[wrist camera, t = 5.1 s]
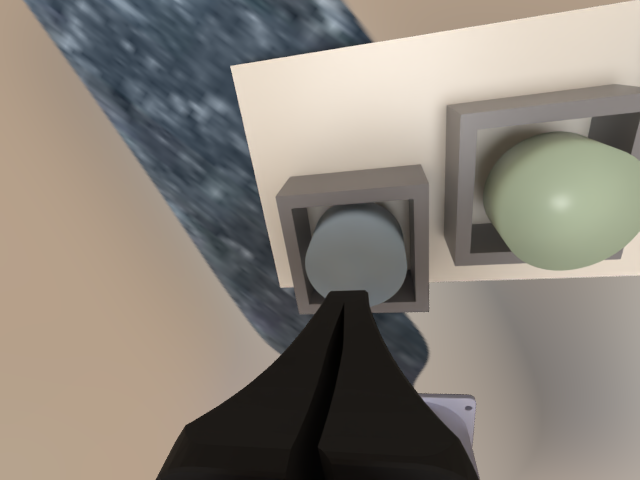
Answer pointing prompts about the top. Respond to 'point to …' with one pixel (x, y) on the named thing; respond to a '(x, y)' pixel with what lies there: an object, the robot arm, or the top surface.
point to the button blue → (357, 252)
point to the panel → (435, 136)
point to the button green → (564, 200)
